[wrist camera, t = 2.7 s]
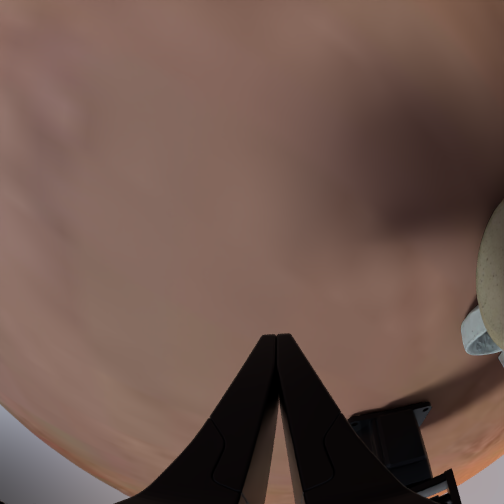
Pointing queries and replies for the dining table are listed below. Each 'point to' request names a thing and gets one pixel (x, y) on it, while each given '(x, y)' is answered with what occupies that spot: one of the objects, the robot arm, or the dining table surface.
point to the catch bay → (501, 358)
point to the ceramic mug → (488, 292)
